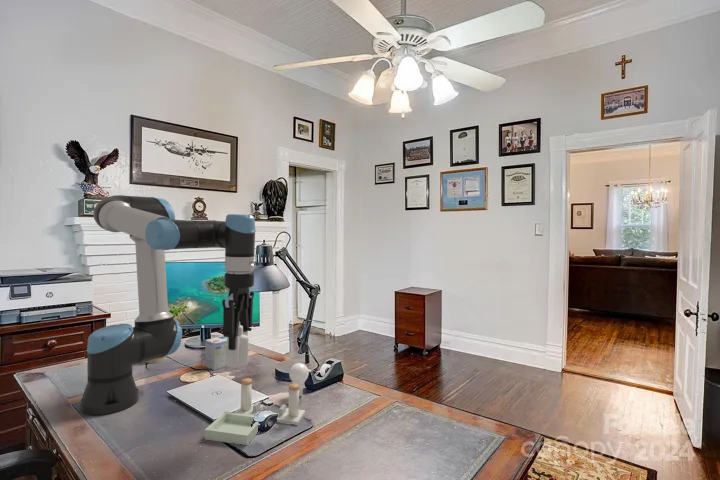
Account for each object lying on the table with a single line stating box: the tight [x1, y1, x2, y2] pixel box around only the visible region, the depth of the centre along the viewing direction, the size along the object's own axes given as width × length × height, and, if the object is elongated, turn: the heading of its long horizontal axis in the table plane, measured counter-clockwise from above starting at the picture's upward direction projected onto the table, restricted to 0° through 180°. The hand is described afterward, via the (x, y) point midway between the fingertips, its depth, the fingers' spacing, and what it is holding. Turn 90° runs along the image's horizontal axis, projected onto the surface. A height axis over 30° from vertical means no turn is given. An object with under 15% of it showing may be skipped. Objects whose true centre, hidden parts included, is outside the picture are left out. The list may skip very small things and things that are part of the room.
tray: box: [204, 411, 259, 446], centre depth 106 cm, size 12×10×3 cm
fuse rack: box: [233, 377, 306, 426], centre depth 116 cm, size 20×7×10 cm, turn 79°
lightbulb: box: [288, 362, 310, 398], centre depth 128 cm, size 6×6×11 cm
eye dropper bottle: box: [226, 321, 250, 368], centre depth 105 cm, size 4×6×12 cm
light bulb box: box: [204, 335, 228, 371], centre depth 154 cm, size 11×7×11 cm, turn 144°
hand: (237, 357), depth 105 cm, fingers closed on eye dropper bottle, 4 cm apart
